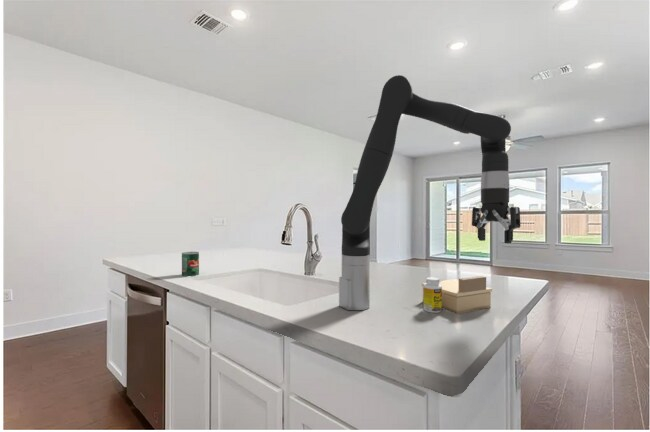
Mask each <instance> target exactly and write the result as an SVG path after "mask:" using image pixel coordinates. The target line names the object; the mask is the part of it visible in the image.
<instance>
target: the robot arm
mask: <svg viewBox="0 0 650 432" xmlns="http://www.w3.org/2000/svg"><path fill="white" fill-rule="evenodd" d="M381 91H382V92H381V95H380V96H381V97H380V100H379V104H378V109H377V114H376V115H375V119H374V123H373V124H372V127H371V130H370V132H369V134H368V137H367V140H366V143H365V146H364V148H363V151H362V155H361V158H360V160H359V165H358V168H357V172H356V178H355V182H354V186H353V190H352V192H351V195H350V198H348V199H349V200H348V202H347V204H346V206H345V208H344V210H343V212H342V215H341V219H340V221H341V226H342V229H341V233H342V234H341V276H339V277H338V297H339V298H338V305H339V306H340V307H341V308H343V309H345V310H346V311H364V310H368V309H369V308H370V304H371V303H370V302H371V301H370V300H371V299H370V298H371V297H370V293H371V292H370V289H371V288H370V286H371V285H370V278H371V276H370V275H371V274H370V273H371V272H370V269H371V268H370V267H371V266H370V265H371V264H370V263H371V262H370V260H371V258H370V256H371V253H370V252H371V247H370V246H371V242H370V241H371V240H370V239H371V238H370V234H371V230H370V229H371V226H370V225H371V218H372V217H371V216H372V212H373V209H374V203H375V201H376V200H375V199H376V196H377V194H378V192H379V189H380V187H381V185H382V183H383V181H384V179H385V177H386V175H387V172H388V169H389V166H390V163H391V161H392V157H393V154H394V150H395V145H396V139H397V133H398V127H399V123H400V120H401V117H402V115H405V116H406V115H407V116H411V117H415V118H418V119H423V120H425V121H426V120H427V121H429V122H432V123H435V124H438V125H441V126H443V127H446V128H449V129H451V130H454V131H456V132H458V133H461V134H466V135H469V134H472V135H476V136H479V137H480V149H481V155H482V157H481V177H480V203H481V207H480V206H479V207H478V206H474V207H472V213H471V226H472V227H475V228H476V229H477V238H478V241H481V242H485V241H486V226H487V225H488V224H490V222H499V224H501V225H502V227H503V228H504V235H503V236H504V237H503V239H504V240H503V241H504V243H505V244H512V242H513V241H514V230H515V229H519V228H521V212H520V211H521V209H520V207H519V206H510V207H509V202H510V174H509V154H508V153H507V152H506V150H507V149H506V139H507V138H508V137H509V136H510V134H511V132H512V126H511V124H510V122H509V121H508V120H507V119H506V118H504V117H501V116H499V115H495V114H491V113H486V112H480V111H477V110H476V111H475V110H473V109H470V108H467V107H465V106H462V105H460V104H457V103H452V102H446V101H435V100H431V99H427V98H424V97H421V96H419V95H418V94H416V93H415V92H413V86H412V84H411V82H410V80H409V79H408V78H407V77H406V76H404V75H399V74H398V75H394V76H392V77H390V78H389V79H388V80H387V81H386V82H385V84H384V86H383V88H382V90H381ZM508 214H509V215H508Z"/></svg>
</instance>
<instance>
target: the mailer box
mask: <svg viewBox="0 0 650 432" xmlns="http://www.w3.org/2000/svg"><path fill="white" fill-rule="evenodd" d="M491 294H492V293H491V292H486V293H480V294H473V295H466V296H460V297H456V296H452V295H449V294H446V293H443V292H442V310H446V311H449V312H451V313H453V314H457V315H458V314H463V313H469V312H473V311H480V310H485V309H490V308H491V306H492V304H491V302H492V299H491ZM422 302H423V303H424V287H423V286H422Z"/></svg>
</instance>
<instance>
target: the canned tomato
mask: <svg viewBox="0 0 650 432" xmlns="http://www.w3.org/2000/svg"><path fill="white" fill-rule="evenodd" d="M196 275H197V276H199V275H200V251H184V252H183V251H182V252H181V277H184V276H191V277H197V276H196Z"/></svg>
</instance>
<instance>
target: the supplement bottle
mask: <svg viewBox="0 0 650 432" xmlns="http://www.w3.org/2000/svg"><path fill="white" fill-rule="evenodd" d="M440 281H441V280H440V278H439V277H438V278H437V277H432V276H431V277H426V279H425V283H426V284H424V302H423V305H422V306H423V311H425V312H427V313H432V314H438V313H440V312H441V313H442V310H443V309H442V286H441V285H440Z"/></svg>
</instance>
